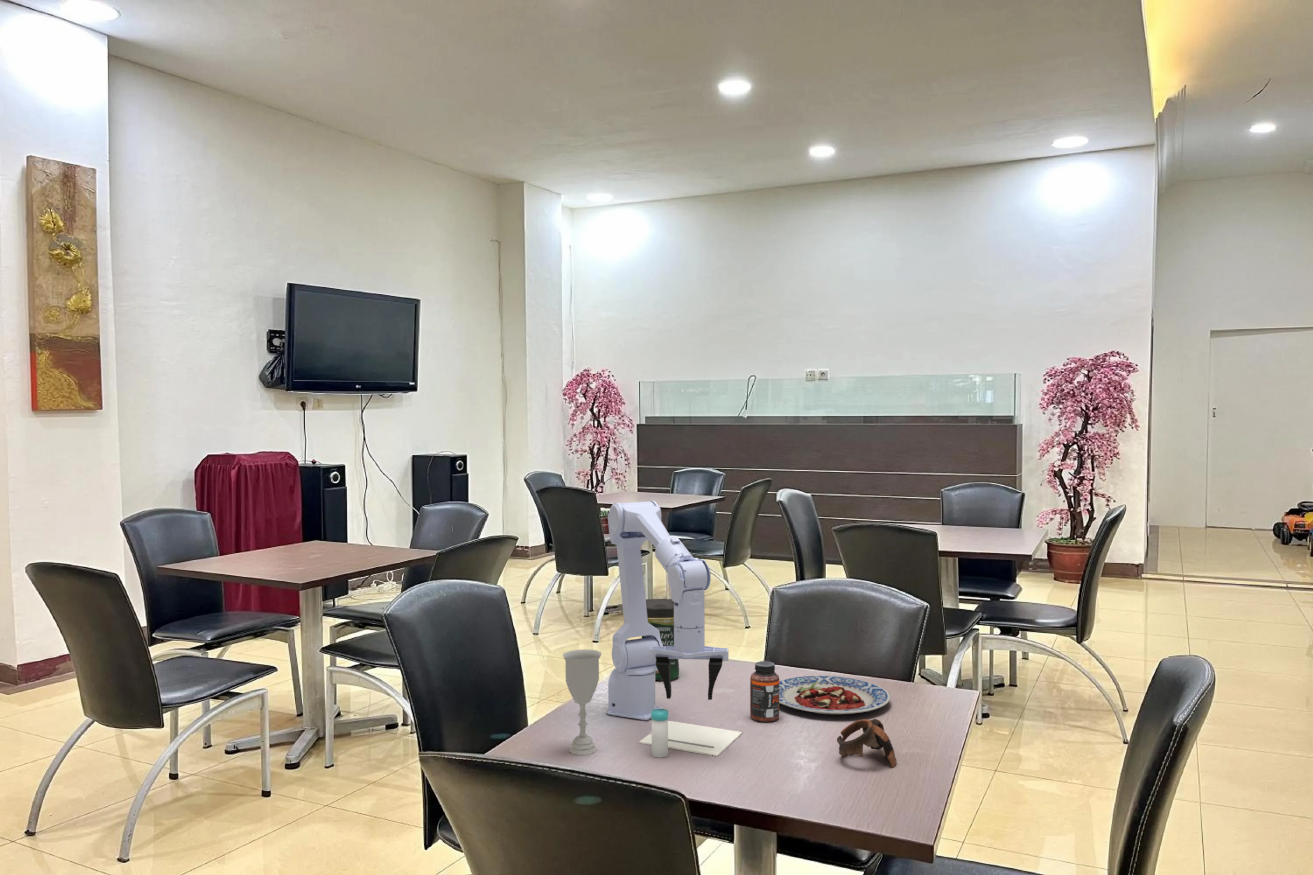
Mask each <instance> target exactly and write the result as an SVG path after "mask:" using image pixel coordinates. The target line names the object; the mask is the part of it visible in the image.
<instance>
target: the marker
mask: <svg viewBox="0 0 1313 875" xmlns="http://www.w3.org/2000/svg"><path fill="white" fill-rule="evenodd" d="M650 719H651V733H652V745H651V756H652V757H654V758H661V759H662V758H666V757H668V756H669V748H668V721H669V710H668V709H665V708H663V709H654V710H652V711H651V718H650Z"/></svg>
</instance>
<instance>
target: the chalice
mask: <svg viewBox="0 0 1313 875" xmlns="http://www.w3.org/2000/svg"><path fill="white" fill-rule="evenodd" d="M562 656H563V659H564V661H565V682H566V686H567V689H568V691H569V693H570V695H571V697H572V700H573V701H574V703H576V704H578V705H579V712H578V714H577V715H578V716H579V722H578V724H577V726H578V727H579V734H578V735H577V736H576V737H574V738H573V739H572V743H571V745H570V748H569V753H571V754H573V755H577V756H586V755H587V756H588V755H591V754H594V753H595V752H597V748H596V746H595V743H594V739H593V738H592V737H591V736H589V735H588V733H586V728H587V725H588V722H587V721H586V717H587V715H588V713H587V711H586V704H589V703H590V702H591V700H592V698H593V697H594V694H595V692H596V690H597V686H598V684H599V681H600V658H601V656H602V651H599V650H597V649H596V650H594V649H586V648H585V649H574V650H569V651H565V652H564V653H562Z"/></svg>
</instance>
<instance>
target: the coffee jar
mask: <svg viewBox="0 0 1313 875" xmlns="http://www.w3.org/2000/svg"><path fill="white" fill-rule="evenodd" d="M645 599H646V598H645ZM646 609H647V619H648V623H649V624H651V625H652V626H654V627H655V628H656V629H658V630H659V633H660V638H661V642H662V644H663V646H674V601H672V598H649V599H646ZM641 638H647V637H646V636H641ZM679 660H680V659H671V676H670V677H671V681H673V680H675V679H677V678H678V677H679V675H680V664H679V662H680V661H679ZM655 680H660V681H663V680H662V678H661V675H660V673H659V671H655Z"/></svg>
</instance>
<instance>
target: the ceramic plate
mask: <svg viewBox="0 0 1313 875" xmlns="http://www.w3.org/2000/svg"><path fill="white" fill-rule="evenodd" d="M890 699H891V695H890V693H889V692H888V690H886V689H885V688H884V687H882V686H880V685H878V684H875V683H872V682H870V681H865V680H863V679H857V678H852V677H845V676H838V675H837V676H836V675H802V676H796V677H790V678H789V677H788V678H786V679H782V680H779V704H781V705H783V706H786V707H789V708H792V709H795V710H801V711H805V712H808V713H813V714H819V715H820V714H821V715H841V716H842V715H851V714H857V713H859V714H860V713H864V712H865V713H866V712H871V711H874V710H877V709H880V708H882V707H884V706H886V705H887V704H888V703H889V702H890Z"/></svg>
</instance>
